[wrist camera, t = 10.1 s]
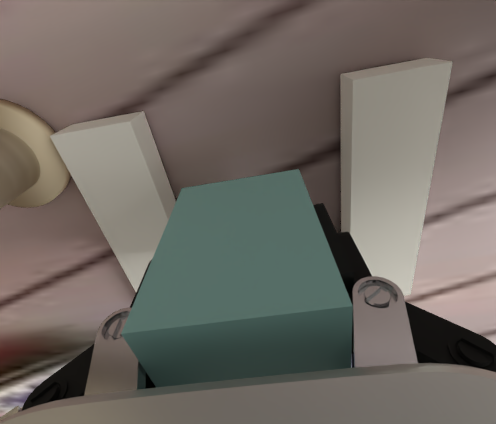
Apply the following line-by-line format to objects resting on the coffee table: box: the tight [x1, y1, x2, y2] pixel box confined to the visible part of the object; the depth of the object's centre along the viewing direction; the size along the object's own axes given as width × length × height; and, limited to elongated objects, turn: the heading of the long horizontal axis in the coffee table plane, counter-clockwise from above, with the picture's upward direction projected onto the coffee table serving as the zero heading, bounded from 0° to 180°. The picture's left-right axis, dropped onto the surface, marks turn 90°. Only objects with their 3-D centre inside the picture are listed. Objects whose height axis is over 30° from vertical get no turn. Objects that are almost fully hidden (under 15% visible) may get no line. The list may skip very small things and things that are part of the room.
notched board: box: [50, 58, 453, 295], centre depth 17 cm, size 18×14×2 cm
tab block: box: [121, 169, 353, 388], centre depth 10 cm, size 5×5×7 cm
